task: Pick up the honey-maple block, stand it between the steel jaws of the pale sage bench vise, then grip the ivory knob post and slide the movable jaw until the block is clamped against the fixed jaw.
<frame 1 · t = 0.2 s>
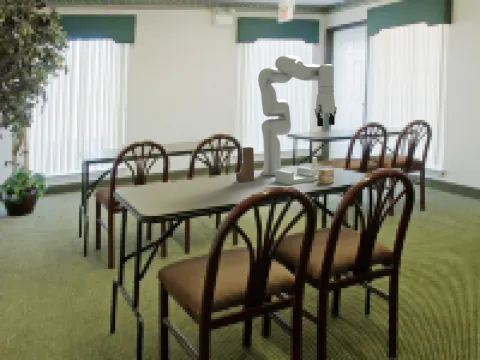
hand: (326, 125, 241), 30 cm above the table, fingers open, 9 cm apart
wooden block: (245, 181, 264), on the table
slide jaw: (310, 166, 265), point 7 cm above the table, slide at 0.0 cm
vise base: (297, 180, 261), on the table
maple block: (326, 182, 254), on the table
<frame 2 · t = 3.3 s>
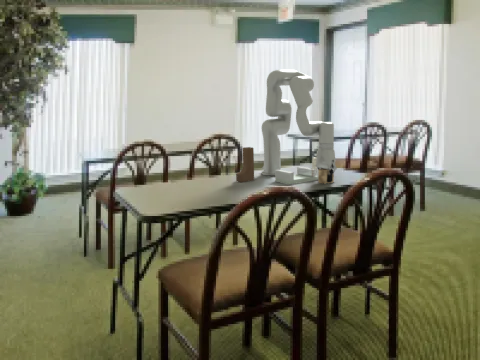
hand: (326, 180, 254), 1 cm above the table, fingers closed on maple block, 5 cm apart
maple block: (326, 182, 254), on the table, touching gripper
everything else where it was.
when the fingers open (4 cm above the table, at t = 10.7 s): maple block stays where it is, resting on vise base.
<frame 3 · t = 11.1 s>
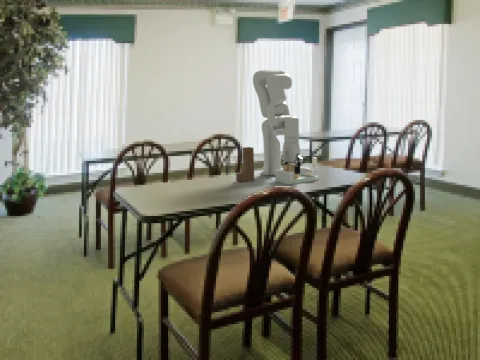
hand: (291, 172, 259), 5 cm above the table, fingers open, 9 cm apart
maple block: (291, 177, 259), point 2 cm above the table, touching vise base
everything else where it was.
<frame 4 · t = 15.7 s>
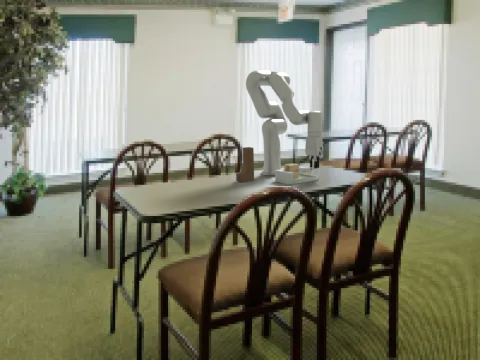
hand: (314, 167, 267), 6 cm above the table, fingers closed on slide jaw, 2 cm apart
slide jaw: (310, 166, 265), point 7 cm above the table, slide at 0.0 cm, touching gripper
everything else where it was.
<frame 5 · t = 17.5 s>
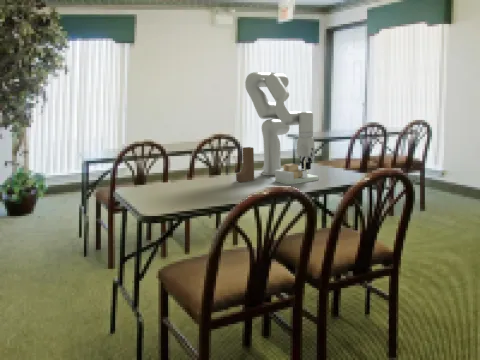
hand: (306, 168, 263), 6 cm above the table, fingers closed on slide jaw, 2 cm apart
slide jaw: (301, 167, 262), point 7 cm above the table, slide at 6.0 cm, touching gripper, maple block
maple block: (291, 177, 259), point 2 cm above the table, touching slide jaw, vise base
everything else where it was.
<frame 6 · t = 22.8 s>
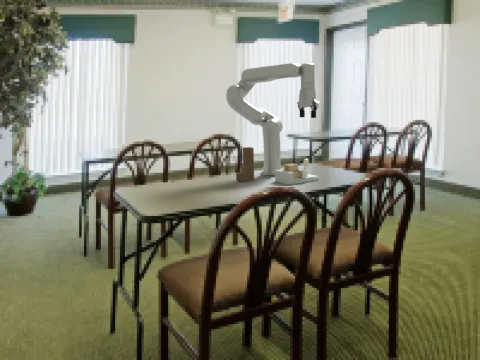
hand: (307, 117, 272), 32 cm above the table, fingers open, 9 cm apart
slide jaw: (301, 167, 262), point 7 cm above the table, slide at 6.0 cm
maple block: (291, 177, 259), point 2 cm above the table, touching vise base
everything else where it was.
at the end: slide jaw slide at 6.0 cm; maple block 0.3 cm from the target spot on the vise base, point 2.0 cm above the vise base's base; maple block tilted 0° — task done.
